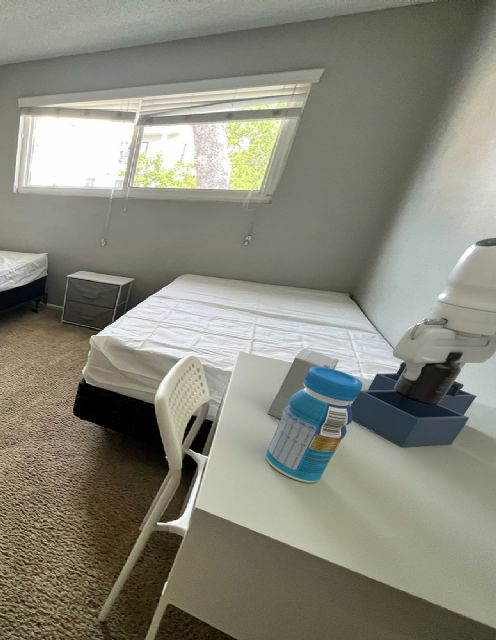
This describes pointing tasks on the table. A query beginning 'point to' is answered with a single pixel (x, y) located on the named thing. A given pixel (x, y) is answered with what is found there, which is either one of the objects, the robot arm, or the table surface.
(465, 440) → the table surface
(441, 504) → the table surface
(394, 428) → the lower bin
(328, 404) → the blue vitamin bottle
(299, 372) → the cosmetic box
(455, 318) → the robot arm
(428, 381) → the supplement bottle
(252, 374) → the table surface
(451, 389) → the upper bin
